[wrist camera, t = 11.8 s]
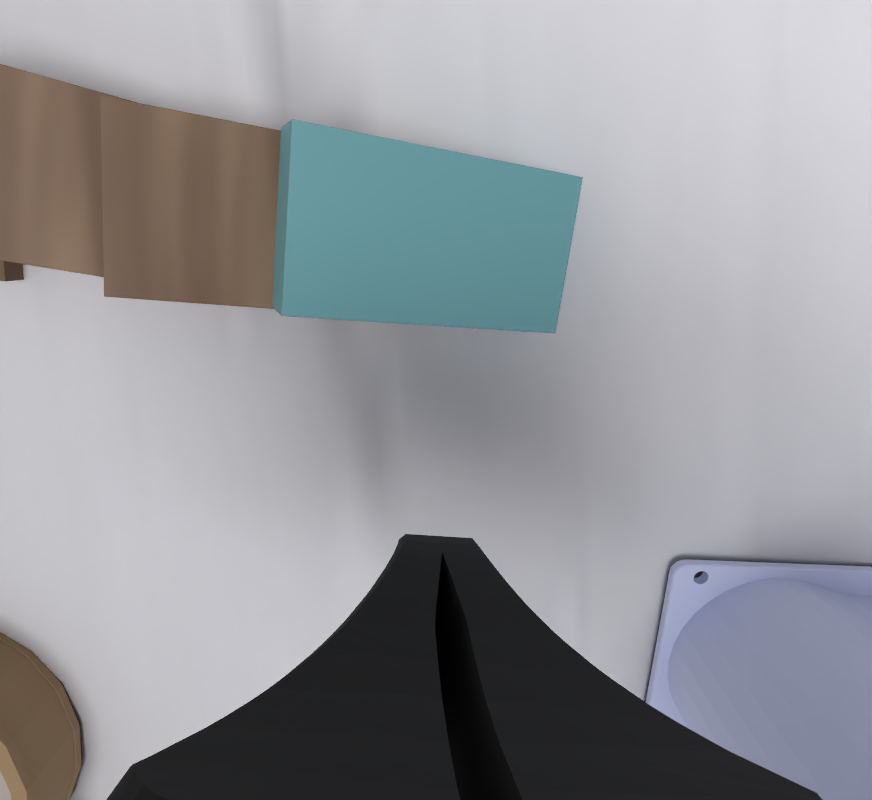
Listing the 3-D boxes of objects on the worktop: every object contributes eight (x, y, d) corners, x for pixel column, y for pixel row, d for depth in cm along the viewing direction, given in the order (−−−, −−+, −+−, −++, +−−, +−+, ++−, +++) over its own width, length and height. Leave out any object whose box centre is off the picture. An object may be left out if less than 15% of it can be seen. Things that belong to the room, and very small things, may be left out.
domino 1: (266, 139, 16) (-121, 29, 12) (243, 299, 17) (-120, 240, 13) (258, 144, 17) (-91, 47, 14) (238, 291, 18) (-92, 237, 15)
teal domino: (582, 177, 16) (292, 119, 13) (555, 333, 17) (281, 315, 14) (550, 180, 18) (281, 128, 14) (526, 324, 19) (272, 306, 16)
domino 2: (432, 160, 16) (100, 95, 13) (414, 318, 17) (104, 296, 14) (412, 164, 18) (107, 107, 14) (396, 310, 19) (110, 288, 15)
